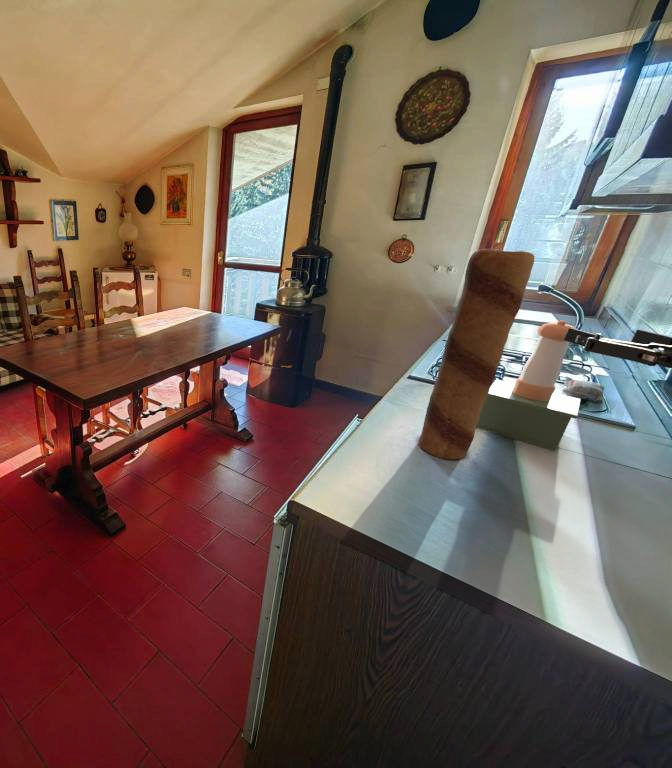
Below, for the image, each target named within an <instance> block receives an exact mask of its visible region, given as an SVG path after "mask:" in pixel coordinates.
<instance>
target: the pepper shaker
mask: <svg viewBox="0 0 672 768" xmlns="http://www.w3.org/2000/svg"><path fill="white" fill-rule="evenodd" d="M569 328H574V329H577V328H576V327H574V325H570V324H567V322H566V321H565V320H558V321H556V322H548V323H543V324H542V325H540V326H539V327H538V328H537V335H539V336H538V339H537V341H536V344H535V346H534V348H533V351H532V353H531V354H530V356H529V357H528V359H527V361H526V362H525V363H524V365H523V367H522V369H521V370H522V371H521V373H520V376H519V377H518V378H517V379H516V380H515V382H514V384H515V385H514V388H513V390H512V392H513V393H514V394H516V395H518V396H521V397H524V398H527V399H531V400H537V401H549V400H550V399H551V397H552V394H553V393H555V390H556V388H557V387H556V382H557V381H558V379H559V376H560V375H561V371H562V367H563V362H564V357H565V355H566V353H567V350H568V348H569V346H570V343H571V342H568V341H565V340H564V339H565V336H566V334H567V332H568V329H569Z"/></svg>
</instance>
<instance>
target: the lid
mask: <svg viewBox="0 0 672 768" xmlns="http://www.w3.org/2000/svg"><path fill="white" fill-rule="evenodd" d="M514 385H515V382H514V383H513V382H509V381H504V380H501V379H495V380H494V381H493V383H492V385H491V387H490V390H489V393H488V395H487V396H489V397H493V398H497V399H501V400H505V401H508V402H512V403H516V404H520V405H524V406H528V407H532V408H536V409H540V410H544V411H548V412H551V413H555V414H559V415H563V416H567V417H571V419H574V420H576V419H577V418H578V415H579V412H580V411H579V410H580V406H581V400H582V399H580V398H576V397H572V396H569V395H567V394H561V393H556V392H553V394H552V397H551V399H550V400H549V401H537V400H531V399H527V398H524V397H521V396H518V395H516V394H514V393H513V392H512V390H513V388H514Z"/></svg>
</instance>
